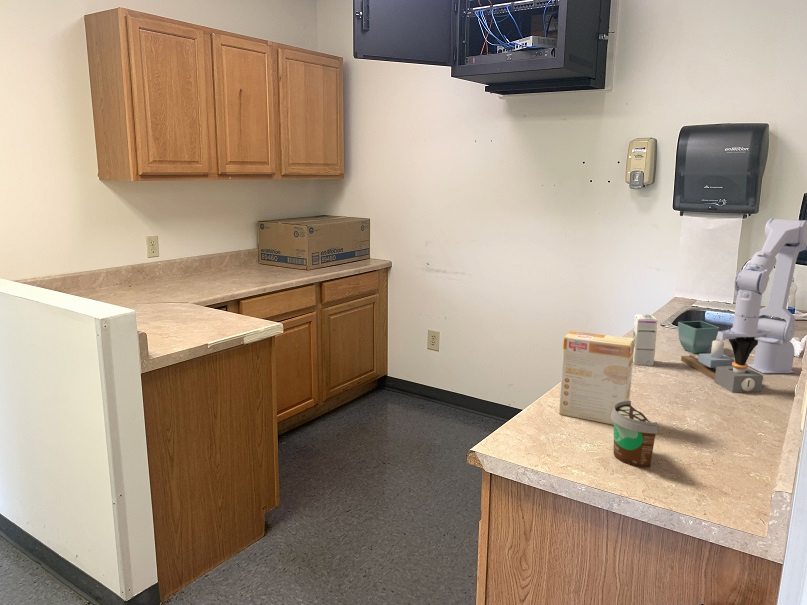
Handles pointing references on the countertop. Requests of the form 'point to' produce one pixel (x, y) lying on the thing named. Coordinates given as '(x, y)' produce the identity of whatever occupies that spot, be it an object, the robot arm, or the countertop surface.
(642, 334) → the syrup box
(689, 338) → the flower pot
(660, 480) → the countertop surface
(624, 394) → the coffeecake box
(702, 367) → the rail
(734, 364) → the button
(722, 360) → the carriage
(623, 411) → the food container
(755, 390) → the button box
